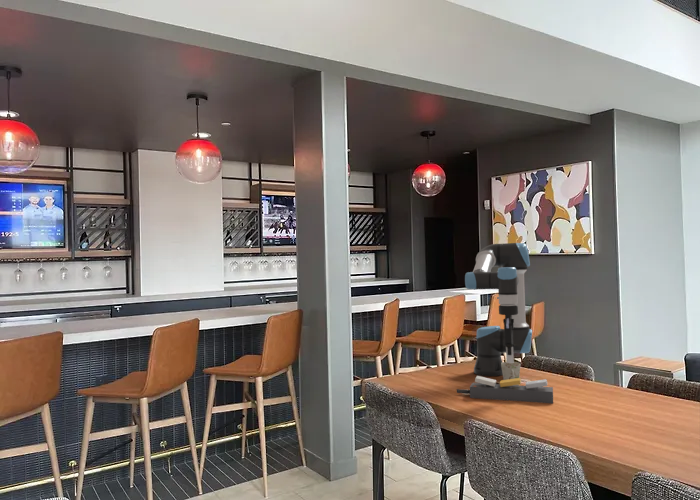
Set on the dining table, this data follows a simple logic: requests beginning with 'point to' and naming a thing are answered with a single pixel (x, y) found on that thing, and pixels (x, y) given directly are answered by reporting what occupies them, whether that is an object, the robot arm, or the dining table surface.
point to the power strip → (510, 393)
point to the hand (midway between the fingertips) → (510, 362)
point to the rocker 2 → (510, 382)
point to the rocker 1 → (485, 381)
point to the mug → (510, 370)
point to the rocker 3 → (536, 383)
